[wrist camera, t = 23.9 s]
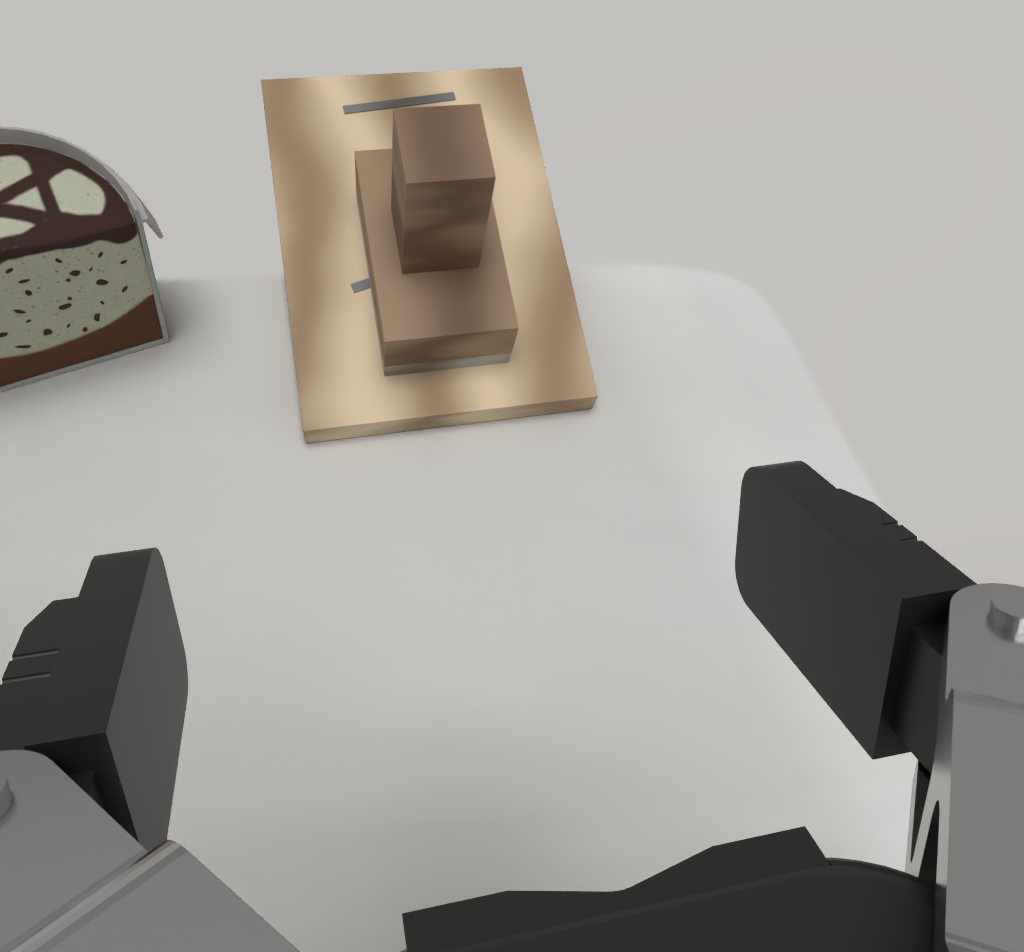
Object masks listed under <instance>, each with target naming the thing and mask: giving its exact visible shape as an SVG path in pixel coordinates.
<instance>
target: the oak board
mask: <svg viewBox="0 0 1024 952" xmlns="http://www.w3.org/2000/svg"><path fill="white" fill-rule="evenodd" d="M261 84H262V93H263V101H264V109H265V117H266V126H267V134H268V143H269V151H270V159H271V168H272V175H273V184H274V192H275V201H276V209H277V217H278V226H279V234H280V242H281V250H282V259H283V267H284V276H285V284H286V292H287V301H288V309H289V317H290V326H291V334H292V342H293V350H294V359H295V367H296V375H297V384H298V392H299V400H300V409H301V417H302V425H303V432H304V437H305V442H306V443H311V442H319V441H328V440H336V439H344V438H352V437H361V436H369V435H377V434H386V433H394V432H402V431H411V430H419V429H427V428H435V427H444V426H452V425H460V424H469V423H477V422H485V421H494V420H502V419H510V418H518V417H527V416H535V415H543V414H552V413H560V412H568V411H577V410H585V409H591V408H592V406H593V404H594V402H595V401H596V399H597V397H598V395H597V391H596V386H595V382H594V378H593V373H592V369H591V365H590V360H589V356H588V352H587V348H586V343H585V339H584V335H583V330H582V326H581V322H580V317H579V313H578V309H577V305H576V300H575V296H574V292H573V287H572V283H571V279H570V274H569V270H568V266H567V261H566V257H565V253H564V249H563V244H562V240H561V236H560V231H559V227H558V223H557V219H556V214H555V210H554V206H553V201H552V197H551V193H550V188H549V184H548V180H547V176H546V171H545V167H544V162H543V158H542V154H541V150H540V145H539V141H538V137H537V132H536V128H535V124H534V119H533V115H532V111H531V107H530V103H529V98H528V94H527V89H526V85H525V81H524V76H523V72H522V68H521V67H516V68H495V69H475V70H455V71H434V72H414V73H393V74H374V75H352V76H332V77H312V78H290V79H272V80H271V79H270V80H261ZM467 104H480V105H481V110H482V114H483V119H484V124H485V128H486V133H487V138H488V143H489V147H490V152H491V157H492V161H493V166H494V171H495V176H496V179H495V184H494V190H493V195H492V202H493V206H494V211H495V216H496V221H497V226H498V230H499V235H500V240H501V245H502V249H503V254H504V259H505V264H506V269H507V273H508V278H509V283H510V288H511V293H512V297H513V302H514V307H515V312H516V317H517V321H518V326H519V329H518V333H517V336H516V339H515V343H514V346H513V350H512V353H511V356H510V360H509V363H500V364H491V365H482V366H473V367H464V368H455V369H446V370H437V371H428V372H419V373H410V374H401V375H392V376H384V371H383V364H382V358H381V352H380V345H379V339H378V332H377V326H376V320H375V313H374V307H373V300H372V294H371V288H370V281H369V275H368V268H367V262H366V256H365V249H364V243H363V236H362V230H361V224H360V217H359V211H358V205H357V198H356V177H355V152H354V151H363V150H378V149H392V132H393V109H396V108H414V107H432V106H449V105H467Z"/></svg>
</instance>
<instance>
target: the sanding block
mask: <svg viewBox="0 0 1024 952" xmlns="http://www.w3.org/2000/svg"><path fill="white" fill-rule="evenodd" d="M354 152H355V177H356V198H357V205H358V211H359V217H360V224H361V230H362V236H363V243H364V249H365V256H366V262H367V268H368V275H369V281H370V288H371V294H372V300H373V307H374V313H375V320H376V326H377V332H378V339H379V345H380V352H381V358H382V364H383V371H384V376H392V375H401V374H410V373H419V372H428V371H437V370H446V369H455V368H464V367H473V366H482V365H491V364H500V363H509V360H510V356H511V353H512V350H513V346H514V343H515V339H516V336H517V333H518V329H519V326H518V321H517V317H516V312H515V307H514V302H513V297H512V293H511V288H510V283H509V278H508V273H507V269H506V264H505V259H504V254H503V249H502V245H501V240H500V235H499V230H498V226H497V221H496V216H495V211H494V206H493V202H492V195H493V190H494V184H495V179H496V176H495V171H494V166H493V161H492V157H491V152H490V147H489V143H488V138H487V133H486V128H485V124H484V119H483V114H482V110H481V105H480V104H467V105H449V106H432V107H414V108H396V109H393V132H392V149H378V150H363V151H354Z"/></svg>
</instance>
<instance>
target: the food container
mask: <svg viewBox="0 0 1024 952" xmlns="http://www.w3.org/2000/svg"><path fill="white" fill-rule="evenodd" d="M144 222H146V223H147V224H148V225H149V226H150V228H151V229H152V230H153V231H154V232H155V233H156V235H157V236H158V237H159V238H162V237H163V235H162V233H161V231H160V229H159V227H158V225H157V223H156V221H155V219H154V217H153V216H152V215H151V213H150V212H149V210H148V209H147V208H146V207H145V205H144V204H143V202H142V201H141V200H140V198H139V197H138V196H137V195H136V193H135V192H134V191H133V190H132V189H131V187H130V186H129V185H128V184H127V183H126V182H125V181H124V180H123V179H122V178H121V177H120V176H119V175H118V174H117V173H116V172H115V171H114V170H113V169H112V168H110V167H109V166H108V165H106V164H105V163H103V162H102V161H101V160H99V159H98V158H96V157H95V156H93V155H91V154H90V153H89V152H87V151H86V150H84V149H82V148H80V147H78V146H76V145H74V144H72V143H70V142H68V141H66V140H64V139H61V138H58V137H55V136H52V135H49V134H46V133H43V132H38V131H33V130H28V129H23V128H15V127H2V126H0V392H3V391H6V390H10V389H13V388H16V387H20V386H23V385H26V384H30V383H33V382H36V381H40V380H43V379H46V378H50V377H53V376H57V375H60V374H63V373H67V372H70V371H73V370H77V369H80V368H83V367H87V366H90V365H93V364H97V363H100V362H103V361H107V360H110V359H113V358H117V357H120V356H123V355H127V354H130V353H133V352H137V351H140V350H143V349H147V348H150V347H154V346H157V345H160V344H164V343H167V342H170V340H169V336H168V332H167V327H166V323H165V319H164V314H163V310H162V305H161V301H160V297H159V292H158V288H157V284H156V279H155V275H154V271H153V267H152V262H151V258H150V253H149V249H148V245H147V240H146V236H145V231H144V227H143V223H144Z"/></svg>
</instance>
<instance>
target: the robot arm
mask: <svg viewBox="0 0 1024 952" xmlns="http://www.w3.org/2000/svg"><path fill="white" fill-rule="evenodd" d="M735 572H736V579H737V583H738V587H739V590H740V593H741V595H742V598H743V600H744V602H745V603H746V605H747V606H748V607H749V609H750V610H751V611H752V612H753V613H754V615H755V616H756V617H757V618H758V620H759V621H760V622H761V623H762V625H763V626H764V627H765V628H766V629H767V631H768V632H769V633H770V634H771V636H772V637H773V638H774V639H775V640H776V642H777V643H778V644H779V645H780V647H781V648H782V649H783V650H784V651H785V653H786V654H787V655H788V656H789V658H790V659H791V660H792V661H793V663H794V664H795V665H796V666H797V667H798V669H799V670H800V671H801V672H802V674H803V675H804V676H805V677H806V678H807V680H808V681H809V682H810V683H811V685H812V686H813V687H814V688H815V690H816V691H817V692H818V693H819V694H820V696H821V697H822V698H823V699H824V701H825V702H826V703H827V704H828V705H829V707H830V708H831V709H832V710H833V712H834V713H835V714H836V715H837V716H838V718H839V719H840V720H841V721H842V723H843V724H844V725H845V726H846V728H847V729H848V730H849V731H850V732H851V734H852V735H853V736H854V737H855V739H856V740H857V741H858V742H859V743H860V745H861V746H862V747H863V748H864V750H865V751H866V752H867V753H868V755H869V756H870V757H871V758H872V759H878V758H883V757H888V756H892V755H897V754H902V753H907V752H912V753H913V754H914V755H915V757H916V758H917V764H916V769H915V773H914V778H913V784H912V796H911V807H910V819H909V830H908V842H907V853H906V865H905V872H902V871H899V870H896V869H893V868H889V867H886V866H882V865H877V864H873V863H868V862H863V861H857V860H849V859H841V858H825V856H824V855H823V853H822V852H821V850H820V849H819V847H818V845H817V844H816V842H815V841H814V839H813V838H812V836H811V835H810V833H809V832H808V830H807V829H806V827H805V826H804V827H800V828H795V829H790V830H786V831H781V832H777V833H772V834H767V835H763V836H758V837H754V838H749V839H744V840H740V841H735V842H730V843H726V844H721V845H717V846H712V847H710V848H708V849H706V850H704V851H702V852H700V853H698V854H696V855H694V856H692V857H690V858H688V859H686V860H684V861H682V862H680V863H678V864H676V865H674V866H672V867H670V868H668V869H666V870H664V871H662V872H660V873H658V874H656V875H654V876H652V877H650V878H648V879H646V880H644V881H642V882H640V883H638V884H636V885H634V886H632V887H630V888H627V889H625V890H620V891H613V892H583V891H505V892H500V893H495V894H491V895H486V896H482V897H477V898H472V899H468V900H463V901H458V902H454V903H449V904H445V905H440V906H435V907H431V908H426V909H422V910H417V911H412V912H408V913H403V914H402V916H403V924H404V932H405V939H406V947H407V949H405V950H403V951H401V952H1024V587H1020V586H1015V585H1008V584H997V583H987V584H976V583H975V582H973V581H972V580H971V579H970V578H968V577H967V576H966V575H965V574H963V573H962V572H961V571H960V570H958V569H957V568H956V567H955V566H953V565H952V564H951V563H949V562H948V561H947V560H946V559H944V558H943V557H942V556H941V555H939V554H938V553H937V552H936V551H934V550H933V549H932V548H931V547H929V546H928V545H927V544H925V543H924V542H923V541H917V536H915V535H914V534H913V533H912V532H910V531H909V530H908V529H906V528H905V527H904V526H903V525H900V526H898V523H897V521H896V520H895V519H894V518H893V517H891V516H890V515H889V514H887V513H886V512H885V511H884V510H882V509H881V508H880V507H879V506H877V505H876V504H875V503H873V502H871V501H868V500H866V499H864V498H861V497H859V496H857V495H854V494H852V493H850V492H847V491H845V490H843V489H837V488H835V487H834V486H833V485H832V484H830V483H829V482H828V481H827V480H826V479H824V478H823V477H822V476H821V475H819V474H818V473H817V472H816V471H815V470H813V469H812V468H811V467H810V466H808V465H807V464H806V463H804V462H802V461H793V462H786V463H779V464H772V465H764V466H757V467H751V468H749V469H748V470H747V471H746V472H745V474H744V477H743V480H742V486H741V498H740V510H739V522H738V534H737V546H736V558H735ZM12 657H13V661H10V662H9V664H8V666H7V668H6V671H5V673H4V675H3V678H2V685H0V952H300V951H299V950H297V949H296V948H295V947H294V946H293V945H292V944H291V943H290V942H289V941H287V940H286V939H285V938H284V937H283V936H282V935H281V934H280V933H279V932H277V931H276V930H275V929H274V928H273V927H272V926H271V925H270V924H269V923H267V922H266V921H265V920H264V919H263V918H262V917H261V916H260V915H259V914H257V913H256V912H255V911H254V910H253V909H252V908H251V907H250V906H249V905H247V904H246V903H245V902H244V901H243V900H242V899H241V898H240V897H239V896H237V895H236V894H235V893H234V892H233V891H232V890H231V889H230V888H229V887H227V886H226V885H225V884H224V883H223V882H222V881H221V880H220V879H219V878H217V877H216V876H215V875H214V874H213V873H212V872H211V871H210V870H209V869H207V868H206V867H205V866H204V865H203V864H202V863H201V862H200V861H199V860H197V859H196V858H195V857H194V856H193V855H192V854H191V853H190V852H189V851H187V850H186V849H185V848H184V847H183V846H181V845H180V844H178V843H176V842H174V841H172V840H167V833H168V827H169V820H170V813H171V806H172V799H173V792H174V785H175V778H176V771H177V765H178V758H179V751H180V744H181V737H182V730H183V723H184V716H185V710H186V703H187V695H188V674H187V663H186V656H185V650H184V645H183V641H182V637H181V633H180V629H179V624H178V620H177V616H176V612H175V608H174V603H173V599H172V595H171V591H170V587H169V583H168V578H167V574H166V570H165V566H164V562H163V559H162V556H161V554H160V552H159V550H158V549H157V548H149V549H142V550H135V551H127V552H120V553H113V554H105V555H98V556H94V558H93V559H92V561H91V564H90V567H89V569H88V572H87V575H86V577H85V580H84V583H83V586H82V588H81V591H80V594H79V597H76V598H69V599H62V600H55V601H52V602H51V603H50V604H49V605H48V606H47V607H46V608H45V609H44V610H43V611H42V612H41V613H40V614H38V615H37V616H36V617H35V618H34V619H33V620H32V621H31V622H30V623H29V624H28V625H27V626H26V627H25V628H24V630H23V632H22V634H21V637H20V639H19V641H18V643H17V646H16V648H15V650H14V652H13V655H12Z"/></svg>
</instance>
